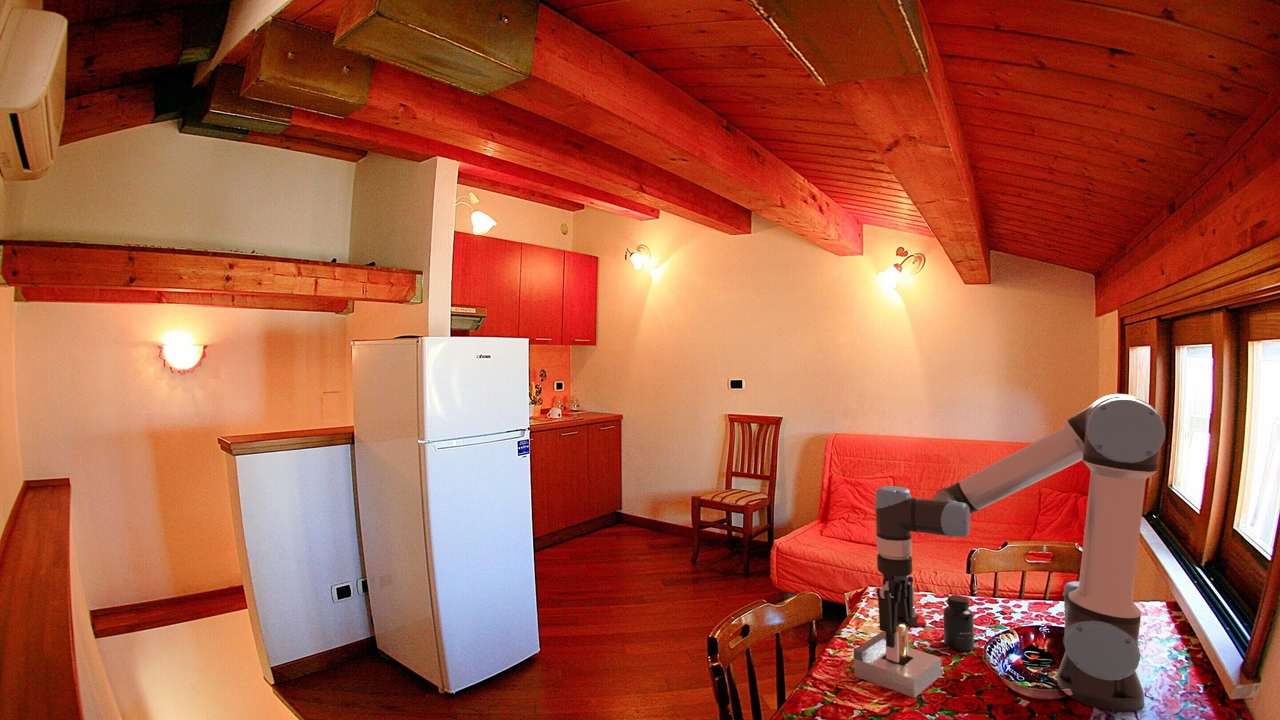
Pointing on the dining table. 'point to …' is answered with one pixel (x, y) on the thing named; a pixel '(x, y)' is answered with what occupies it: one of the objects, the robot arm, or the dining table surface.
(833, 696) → the dining table surface
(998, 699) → the dining table surface
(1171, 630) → the dining table surface
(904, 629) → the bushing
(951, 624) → the supplement bottle
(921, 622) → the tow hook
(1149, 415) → the robot arm
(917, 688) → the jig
